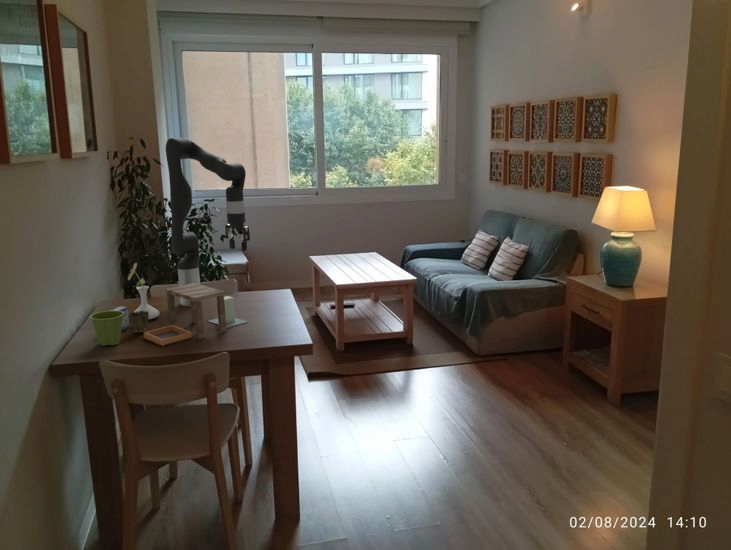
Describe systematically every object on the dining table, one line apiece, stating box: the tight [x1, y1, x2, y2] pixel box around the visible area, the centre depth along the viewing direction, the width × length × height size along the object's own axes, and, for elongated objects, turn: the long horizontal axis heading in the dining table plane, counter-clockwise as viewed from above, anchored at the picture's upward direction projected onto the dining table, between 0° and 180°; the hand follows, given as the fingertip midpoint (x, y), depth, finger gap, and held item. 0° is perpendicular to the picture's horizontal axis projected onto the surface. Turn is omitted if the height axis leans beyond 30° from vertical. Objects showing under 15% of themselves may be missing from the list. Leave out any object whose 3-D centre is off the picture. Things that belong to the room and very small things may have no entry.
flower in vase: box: [126, 262, 160, 321], centre depth 253 cm, size 13×11×25 cm
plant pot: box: [89, 310, 124, 346], centre depth 224 cm, size 12×12×11 cm
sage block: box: [224, 295, 236, 323], centre depth 247 cm, size 4×4×10 cm
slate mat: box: [207, 317, 248, 329], centre depth 248 cm, size 14×10×1 cm
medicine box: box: [109, 306, 130, 331], centre depth 241 cm, size 8×4×9 cm, turn 168°
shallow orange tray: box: [143, 325, 193, 347], centre depth 229 cm, size 14×12×2 cm
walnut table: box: [164, 283, 227, 340], centre depth 237 cm, size 22×13×16 cm, turn 47°
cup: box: [128, 311, 149, 334], centre depth 237 cm, size 8×7×8 cm
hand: (238, 249), depth 255 cm, fingers open, 8 cm apart
